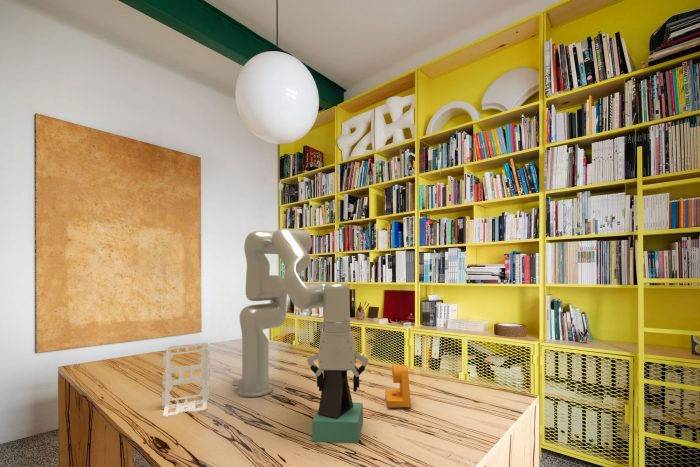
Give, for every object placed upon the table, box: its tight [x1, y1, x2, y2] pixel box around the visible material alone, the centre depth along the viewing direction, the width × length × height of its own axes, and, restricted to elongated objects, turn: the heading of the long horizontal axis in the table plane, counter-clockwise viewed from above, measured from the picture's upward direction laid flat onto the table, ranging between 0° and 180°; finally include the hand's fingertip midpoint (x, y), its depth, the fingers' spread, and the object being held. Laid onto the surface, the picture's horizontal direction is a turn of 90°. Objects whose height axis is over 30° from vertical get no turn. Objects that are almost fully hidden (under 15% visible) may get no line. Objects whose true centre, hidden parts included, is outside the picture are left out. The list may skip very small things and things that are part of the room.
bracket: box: [384, 364, 412, 408], centre depth 114 cm, size 11×7×12 cm, turn 179°
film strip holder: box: [161, 342, 211, 418], centre depth 116 cm, size 14×14×20 cm
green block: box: [311, 402, 364, 444], centre depth 96 cm, size 12×13×5 cm
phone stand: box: [317, 370, 354, 419], centre depth 97 cm, size 9×6×12 cm, turn 150°
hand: (338, 390), depth 96 cm, fingers open, 9 cm apart
